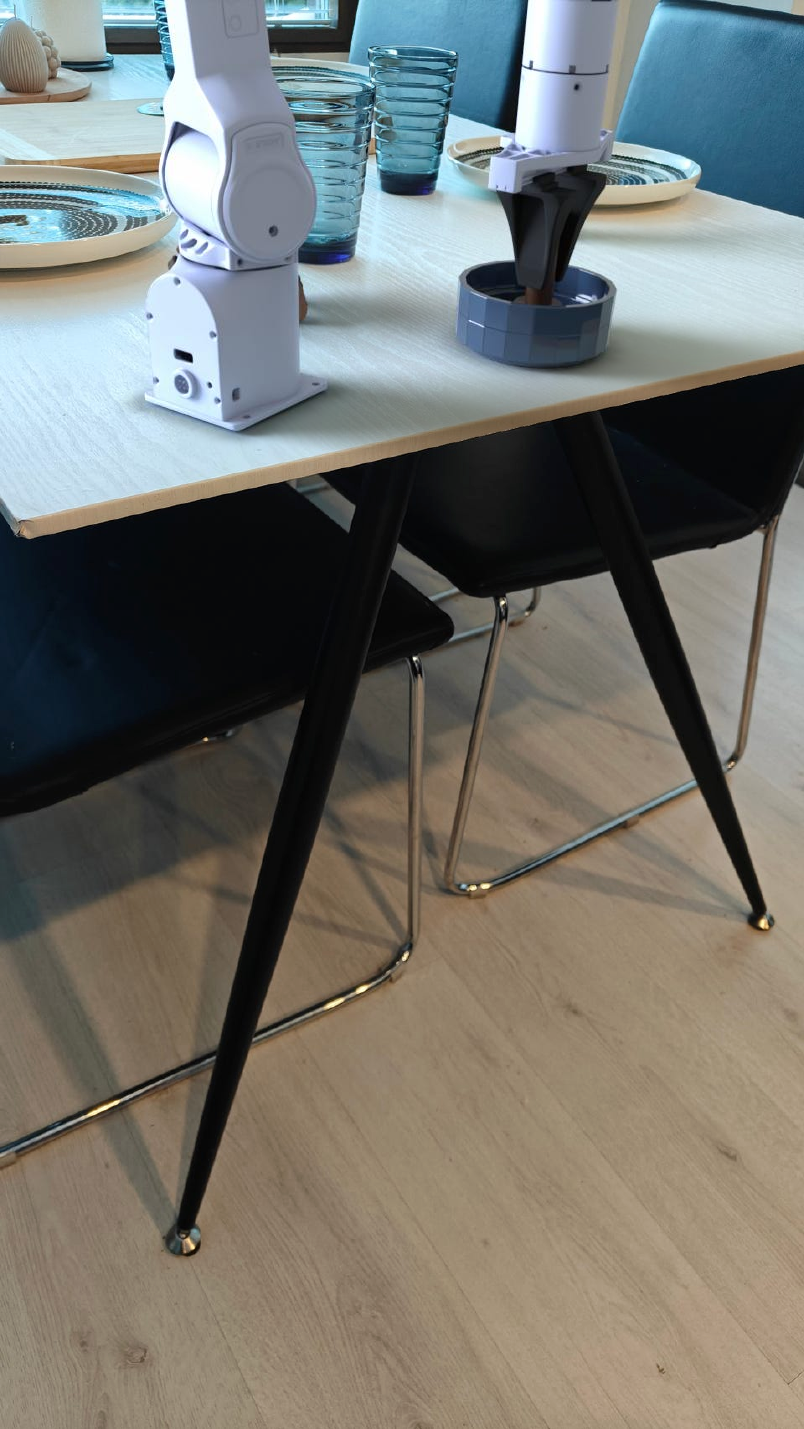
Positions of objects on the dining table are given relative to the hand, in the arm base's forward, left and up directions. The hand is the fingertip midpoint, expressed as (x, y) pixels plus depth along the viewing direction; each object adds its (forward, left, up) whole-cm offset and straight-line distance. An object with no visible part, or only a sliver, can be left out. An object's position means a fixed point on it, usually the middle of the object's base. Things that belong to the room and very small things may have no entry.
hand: (540, 282), depth 80 cm
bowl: (0, 0, -4) cm, 4 cm away
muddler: (0, 0, -3) cm, 3 cm away
